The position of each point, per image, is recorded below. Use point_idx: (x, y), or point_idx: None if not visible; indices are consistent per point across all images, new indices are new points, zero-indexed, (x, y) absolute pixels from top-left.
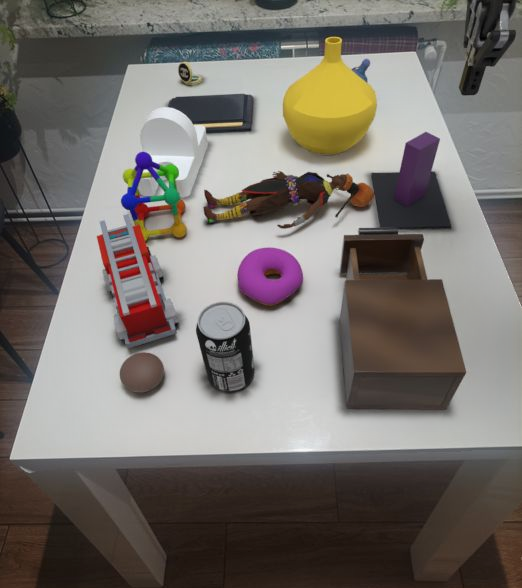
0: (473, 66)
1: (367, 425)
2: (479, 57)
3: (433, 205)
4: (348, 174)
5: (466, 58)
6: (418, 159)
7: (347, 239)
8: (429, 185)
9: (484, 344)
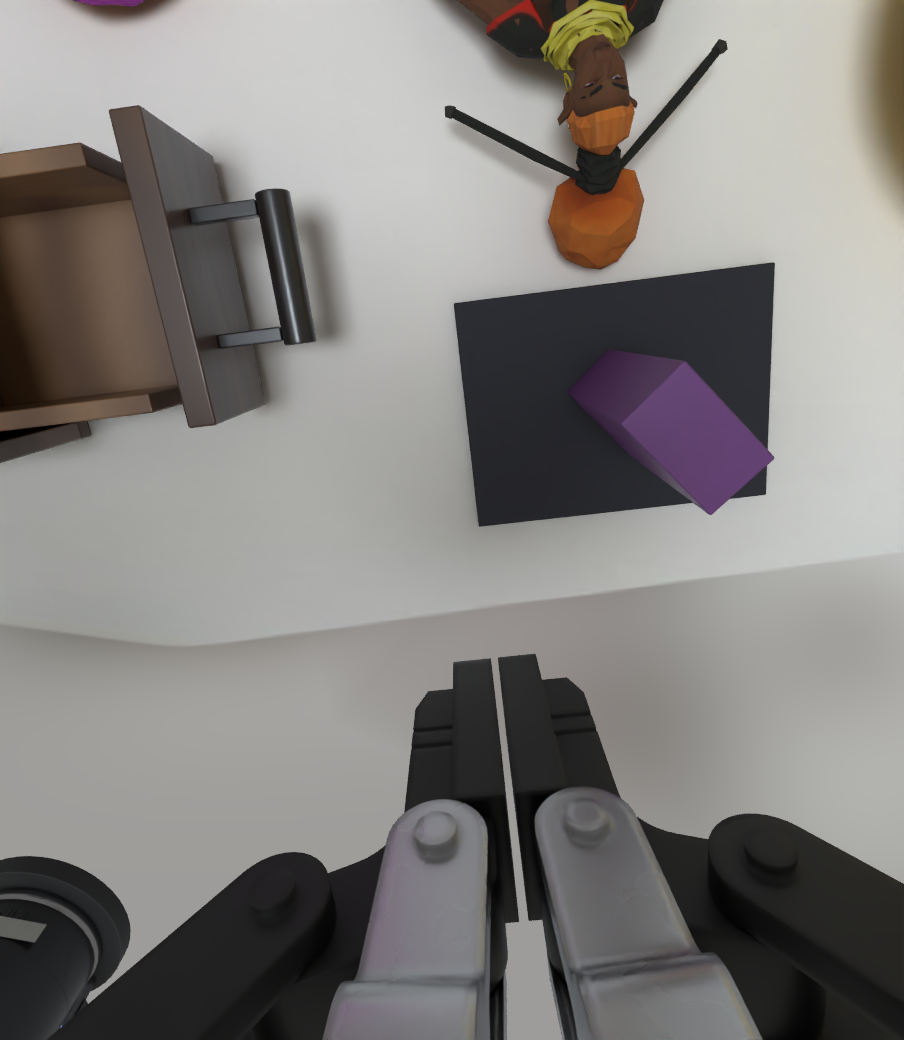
0: (283, 857)
1: None
2: (119, 997)
3: (577, 480)
4: (617, 118)
5: (557, 803)
6: (612, 421)
7: (114, 123)
8: None
9: (59, 566)
